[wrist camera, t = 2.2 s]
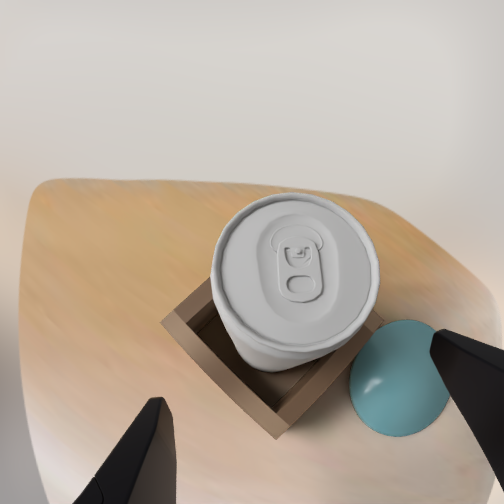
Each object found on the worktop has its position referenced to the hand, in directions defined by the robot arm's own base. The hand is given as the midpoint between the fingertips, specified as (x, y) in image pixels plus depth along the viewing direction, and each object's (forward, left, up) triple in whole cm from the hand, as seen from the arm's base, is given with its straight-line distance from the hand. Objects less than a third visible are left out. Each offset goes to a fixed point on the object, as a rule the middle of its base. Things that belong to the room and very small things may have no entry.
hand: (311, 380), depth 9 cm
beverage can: (+3, -2, -10) cm, 11 cm away
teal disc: (-6, -6, -10) cm, 13 cm away
